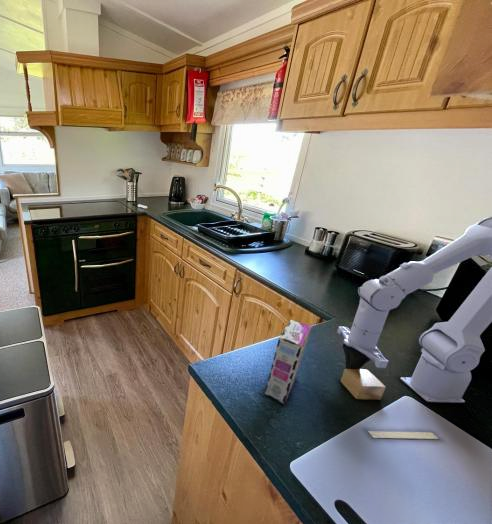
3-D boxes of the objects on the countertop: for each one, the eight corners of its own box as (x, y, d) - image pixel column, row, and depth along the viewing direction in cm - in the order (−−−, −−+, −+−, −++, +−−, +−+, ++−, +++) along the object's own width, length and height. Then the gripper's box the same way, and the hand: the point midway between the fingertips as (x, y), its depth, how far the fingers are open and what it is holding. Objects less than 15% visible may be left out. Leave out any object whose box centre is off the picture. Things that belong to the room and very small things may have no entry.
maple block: (362, 381, 76) (367, 369, 74) (380, 399, 70) (386, 386, 69) (340, 381, 75) (344, 368, 74) (356, 399, 70) (361, 386, 68)
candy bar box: (285, 405, 67) (302, 346, 61) (263, 394, 70) (277, 337, 64) (297, 379, 75) (312, 325, 70) (277, 371, 78) (290, 318, 73)
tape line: (431, 432, 62) (431, 432, 62) (438, 439, 60) (438, 438, 60) (367, 431, 61) (367, 431, 61) (373, 437, 60) (373, 437, 60)
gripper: (332, 312, 78) (319, 353, 83) (373, 344, 64) (355, 392, 69) (357, 312, 78) (343, 354, 83) (404, 345, 64) (384, 393, 69)
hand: (350, 371), depth 76 cm, fingers closed
